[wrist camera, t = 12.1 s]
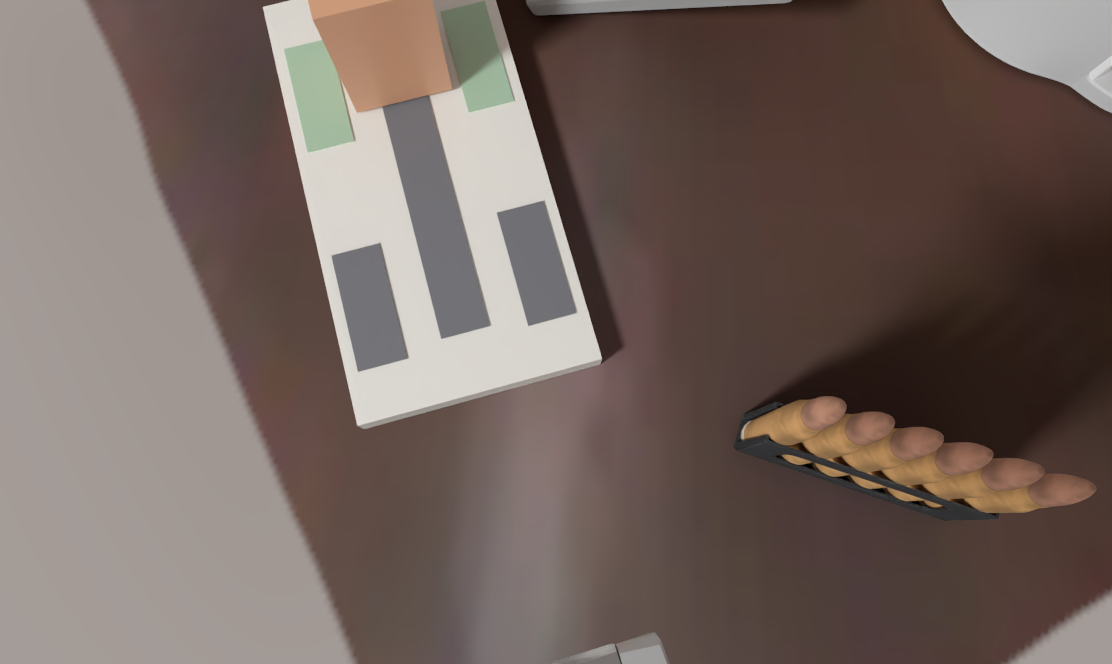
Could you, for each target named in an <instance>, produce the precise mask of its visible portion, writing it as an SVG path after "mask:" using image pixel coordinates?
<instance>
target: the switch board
mask: <svg viewBox="0 0 1112 664" xmlns="http://www.w3.org/2000/svg"><path fill="white" fill-rule="evenodd" d="M432 2H433V6H434V10H435V15H436V19H437V24H438V28H439V33H440V37H441V41H442V46H443V50H444V55H445V59H446V64H447V68H448V72H449V77H450V81H451V86H452V89H451V90H447V91H443V92H439V93H435V94H431V95H427V96H423V97H419V98H415V99H411V100H407V101H403V102H399V103H395V104H391V105H387V106H383V107H379V108H375V109H370V110H366V111H362V112H358V113H357V112H356V110H355V108H354V106H353V103H352V101H351V99H350V97H349V95H348V93H347V91H346V89H345V87H344V85H343V82H342V80H341V78H340V76H339V74H338V72H337V70H336V68H335V66H334V64H333V61H332V59H331V57H330V55H329V53H328V51H327V49H326V47H325V45H324V43H323V40H322V38H321V36H320V34H319V32H318V30H317V28H316V26H315V24H314V22H313V19H312V15H311V11H310V7H309V3H308V0H290V1H286V2H282V3H278V4H273V5H269V6H265V7H263V10H264V14H265V19H266V23H267V28H268V32H269V36H270V41H271V45H272V50H273V54H274V59H275V63H276V67H277V72H278V76H279V81H280V85H281V90H282V94H283V98H284V103H285V107H286V112H287V116H288V121H289V125H290V129H291V134H292V138H293V143H294V147H295V152H296V156H297V160H298V165H299V169H300V174H301V178H302V183H303V187H304V191H305V196H306V200H307V205H308V209H309V213H310V218H311V222H312V227H313V231H314V236H315V240H316V244H317V249H318V253H319V258H320V262H321V267H322V271H323V275H324V280H325V284H326V289H327V293H328V298H329V302H330V306H331V311H332V315H333V320H334V324H335V329H336V333H337V337H338V342H339V346H340V351H341V355H342V360H343V364H344V368H345V373H346V377H347V382H348V386H349V391H350V395H351V399H352V404H353V408H354V413H355V417H356V422H357V426H359V427H361V428H363V429H367V428H370V427H374V426H378V425H381V424H385V423H389V422H392V421H396V420H400V419H403V418H407V417H410V416H414V415H418V414H421V413H425V412H429V411H432V410H436V409H440V408H443V407H447V406H451V405H454V404H458V403H462V402H465V401H469V400H472V399H476V398H480V397H483V396H487V395H491V394H494V393H498V392H502V391H505V390H509V389H513V388H516V387H520V386H523V385H527V384H531V383H534V382H538V381H542V380H545V379H549V378H553V377H556V376H560V375H564V374H567V373H571V372H574V371H578V370H582V369H585V368H589V367H593V366H596V365H600V364H601V361H602V356H601V353H600V350H599V346H598V343H597V339H596V336H595V333H594V329H593V326H592V323H591V319H590V316H589V313H588V309H587V306H586V302H585V299H584V296H583V292H582V289H581V286H580V282H579V279H578V275H577V272H576V269H575V265H574V262H573V259H572V255H571V252H570V248H569V245H568V242H567V238H566V235H565V232H564V228H563V225H562V221H561V218H560V215H559V211H558V208H557V205H556V201H555V198H554V195H553V191H552V188H551V184H550V181H549V178H548V174H547V171H546V168H545V164H544V161H543V157H542V154H541V151H540V147H539V144H538V141H537V137H536V134H535V130H534V127H533V124H532V120H531V117H530V114H529V110H528V107H527V103H526V100H525V97H524V93H523V90H522V87H521V83H520V80H519V77H518V73H517V70H516V66H515V63H514V60H513V56H512V53H511V50H510V46H509V43H508V39H507V36H506V33H505V29H504V26H503V23H502V19H501V16H500V12H499V9H498V6H497V2H496V0H432Z"/></svg>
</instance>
